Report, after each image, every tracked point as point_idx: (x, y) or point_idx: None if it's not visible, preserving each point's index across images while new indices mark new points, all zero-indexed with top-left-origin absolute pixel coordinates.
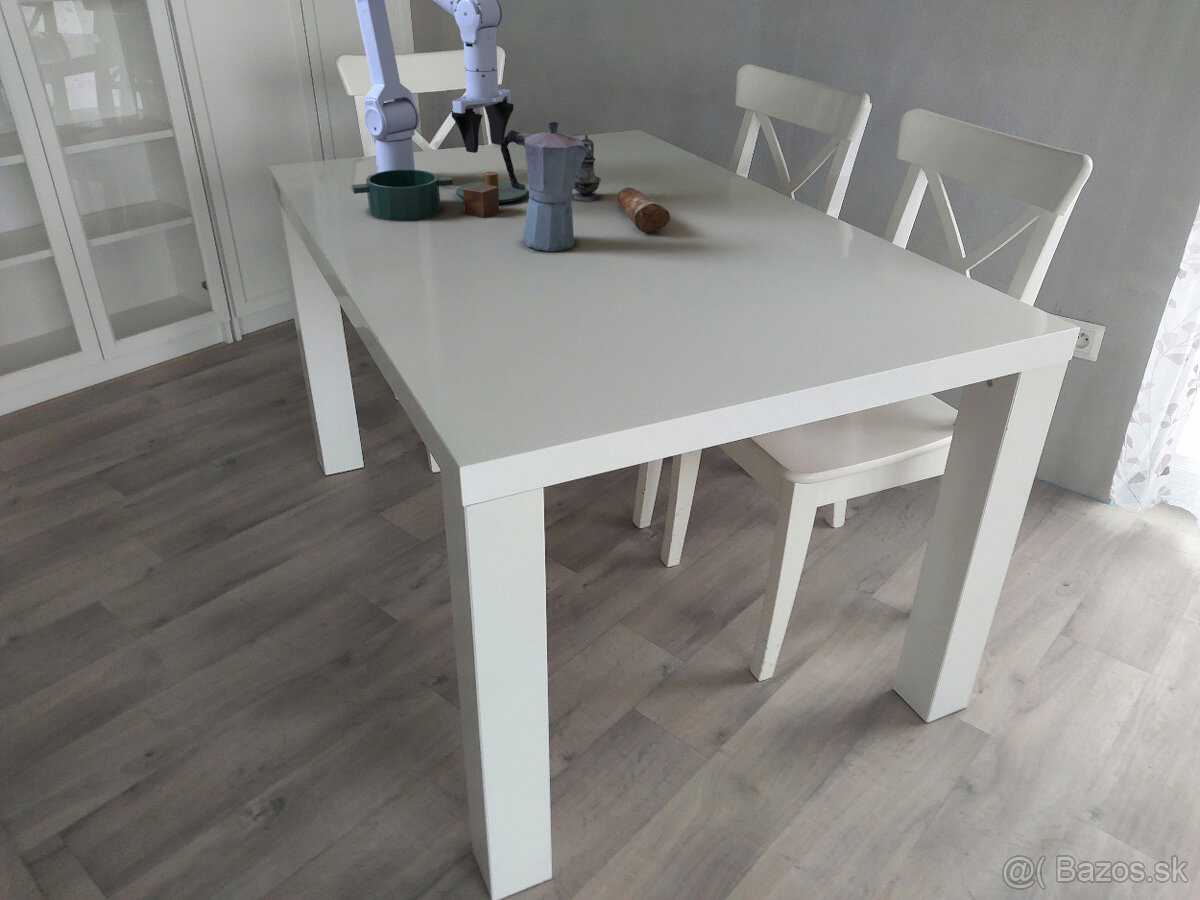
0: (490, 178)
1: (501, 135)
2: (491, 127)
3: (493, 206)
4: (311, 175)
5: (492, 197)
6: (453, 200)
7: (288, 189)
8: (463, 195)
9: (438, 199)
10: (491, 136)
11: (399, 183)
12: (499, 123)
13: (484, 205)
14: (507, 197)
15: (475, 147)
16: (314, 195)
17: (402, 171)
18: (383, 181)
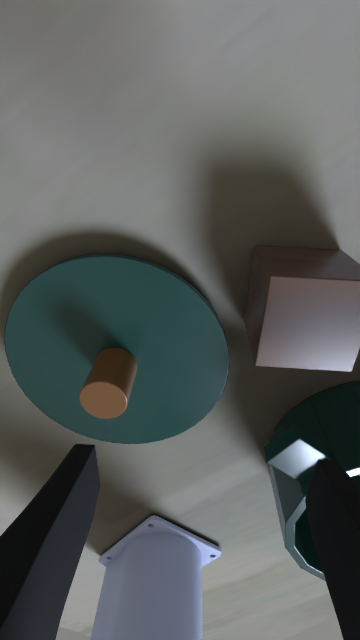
0: (126, 384)
1: (73, 490)
2: (67, 584)
3: (293, 254)
4: (216, 636)
5: (307, 265)
6: (218, 409)
7: (309, 626)
8: (211, 397)
9: (348, 410)
10: (89, 524)
11: (304, 530)
12: (37, 590)
13: (353, 262)
14: (152, 284)
15: (355, 485)
16: (324, 594)
17: (306, 559)
18: None
